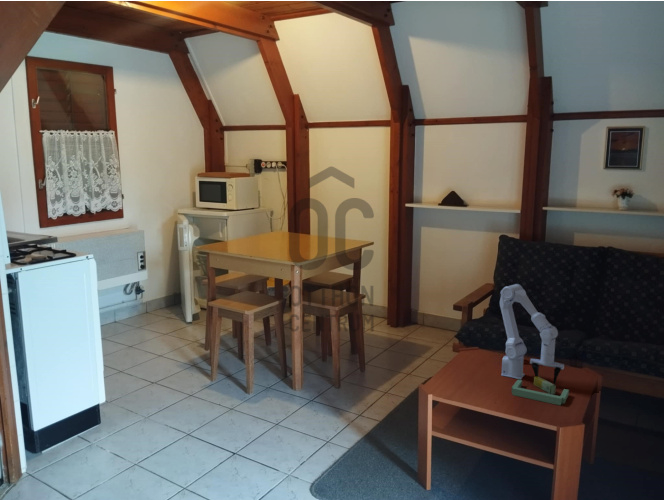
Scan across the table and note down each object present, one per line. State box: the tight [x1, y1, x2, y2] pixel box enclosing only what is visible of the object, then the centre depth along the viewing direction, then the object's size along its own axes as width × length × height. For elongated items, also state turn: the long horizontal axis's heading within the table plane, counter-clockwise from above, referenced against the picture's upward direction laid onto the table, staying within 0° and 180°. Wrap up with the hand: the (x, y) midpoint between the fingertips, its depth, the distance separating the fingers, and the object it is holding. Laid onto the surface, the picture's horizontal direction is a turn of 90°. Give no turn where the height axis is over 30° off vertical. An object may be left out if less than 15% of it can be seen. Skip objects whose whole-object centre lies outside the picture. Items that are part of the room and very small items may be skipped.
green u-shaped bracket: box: [511, 379, 570, 406], centre depth 243 cm, size 22×14×3 cm, turn 58°
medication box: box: [533, 375, 557, 395], centre depth 249 cm, size 12×3×4 cm, turn 18°
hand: (545, 381), depth 255 cm, fingers open, 7 cm apart
